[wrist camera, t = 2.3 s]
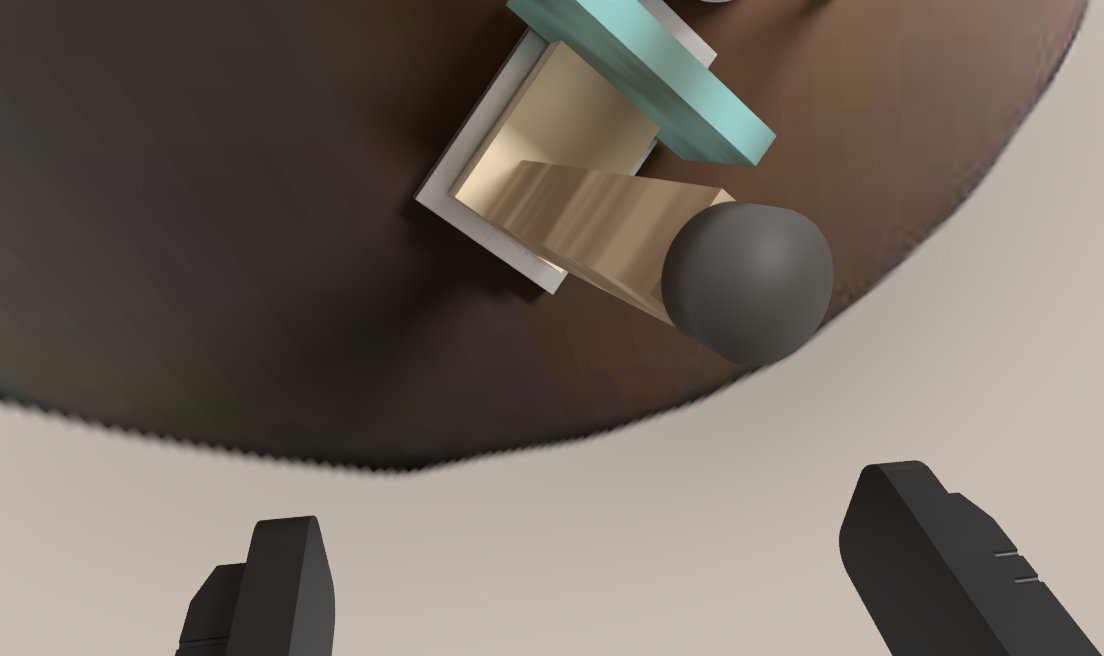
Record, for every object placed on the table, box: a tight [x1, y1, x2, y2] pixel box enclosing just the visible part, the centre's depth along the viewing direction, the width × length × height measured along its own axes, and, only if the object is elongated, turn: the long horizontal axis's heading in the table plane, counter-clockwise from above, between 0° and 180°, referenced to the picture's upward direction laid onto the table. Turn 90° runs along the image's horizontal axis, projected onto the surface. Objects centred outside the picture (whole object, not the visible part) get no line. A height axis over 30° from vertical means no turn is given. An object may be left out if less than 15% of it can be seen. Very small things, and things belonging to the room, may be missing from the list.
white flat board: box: [412, 0, 717, 294], centre depth 35 cm, size 8×14×1 cm, turn 143°
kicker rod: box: [448, 0, 834, 366], centre depth 25 cm, size 11×10×19 cm
